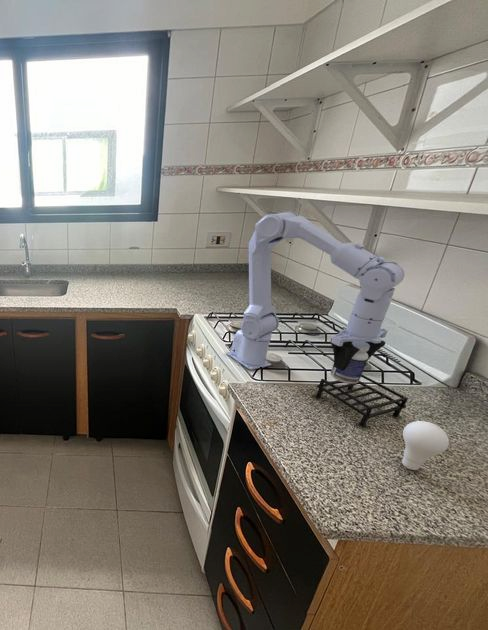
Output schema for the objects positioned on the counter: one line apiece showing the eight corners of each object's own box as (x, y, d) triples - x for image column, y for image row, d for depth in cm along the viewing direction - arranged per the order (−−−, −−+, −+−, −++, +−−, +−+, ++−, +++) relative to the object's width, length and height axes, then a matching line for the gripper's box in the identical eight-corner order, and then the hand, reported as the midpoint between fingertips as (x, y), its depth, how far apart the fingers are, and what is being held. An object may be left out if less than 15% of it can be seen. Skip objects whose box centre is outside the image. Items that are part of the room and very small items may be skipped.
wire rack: (313, 395, 90) (319, 378, 88) (348, 387, 93) (354, 370, 91) (363, 428, 79) (372, 409, 77) (400, 417, 82) (410, 398, 80)
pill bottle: (364, 384, 82) (379, 348, 78) (340, 384, 83) (354, 348, 79) (347, 371, 88) (360, 337, 84) (324, 371, 88) (336, 336, 84)
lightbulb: (388, 451, 73) (408, 410, 68) (427, 466, 69) (452, 423, 65) (388, 469, 69) (411, 426, 64) (431, 486, 65) (457, 442, 61)
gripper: (362, 327, 73) (342, 380, 78) (410, 318, 77) (387, 370, 82) (330, 314, 79) (313, 364, 85) (376, 306, 83) (357, 355, 88)
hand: (348, 366), depth 84 cm, fingers closed on pill bottle, 5 cm apart
